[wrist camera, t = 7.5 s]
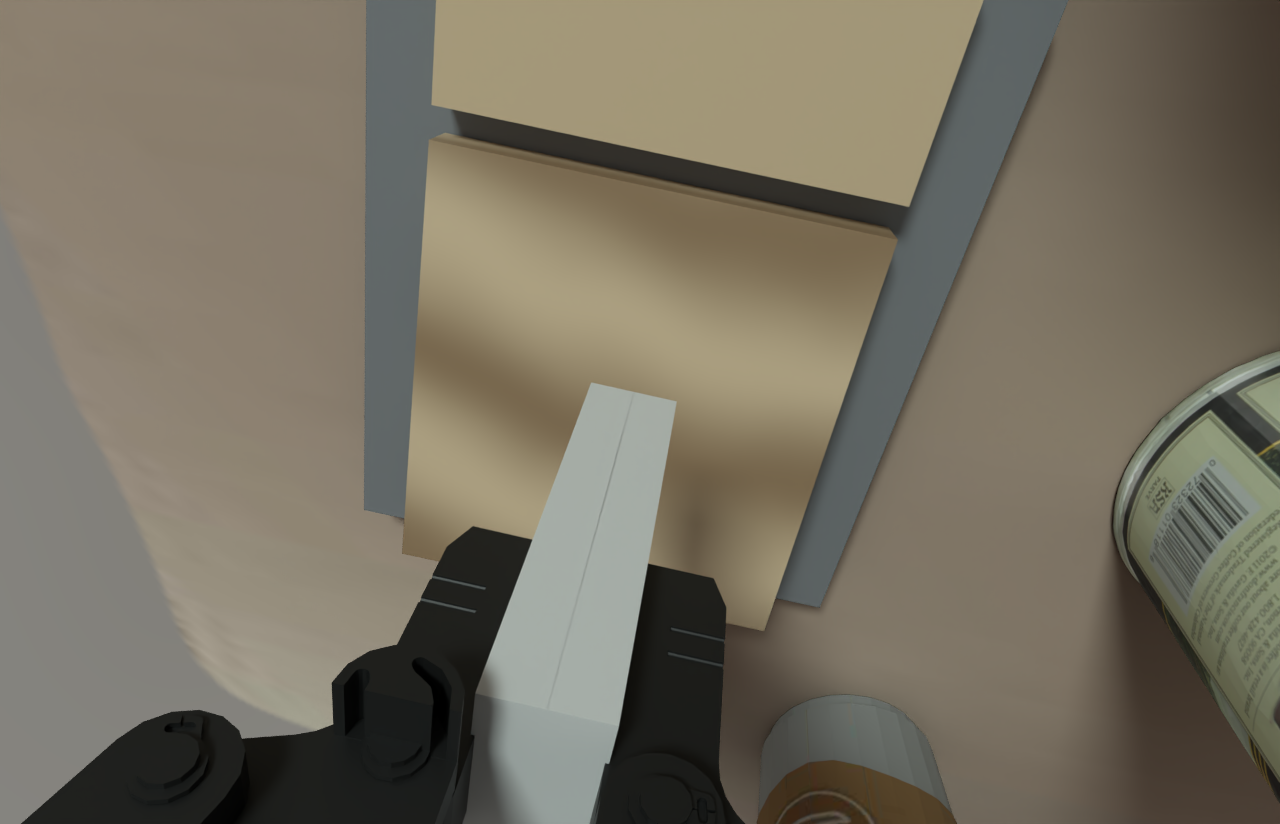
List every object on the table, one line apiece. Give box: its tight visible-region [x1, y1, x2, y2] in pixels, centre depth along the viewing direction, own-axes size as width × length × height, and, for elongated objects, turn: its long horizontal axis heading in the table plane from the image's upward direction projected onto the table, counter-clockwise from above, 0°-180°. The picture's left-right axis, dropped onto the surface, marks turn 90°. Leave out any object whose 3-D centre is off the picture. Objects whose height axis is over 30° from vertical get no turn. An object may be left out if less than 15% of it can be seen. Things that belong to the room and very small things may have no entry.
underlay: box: [364, 0, 1068, 608], centre depth 21 cm, size 18×15×3 cm
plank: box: [402, 133, 898, 631], centre depth 22 cm, size 12×11×1 cm
